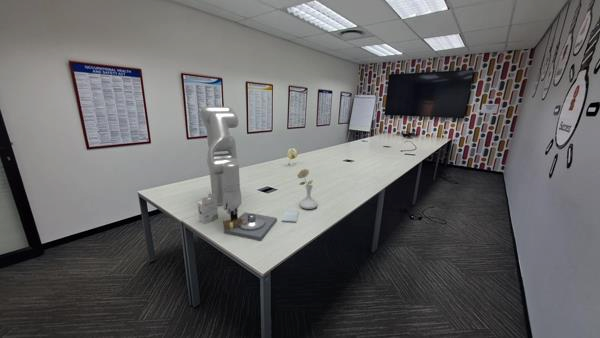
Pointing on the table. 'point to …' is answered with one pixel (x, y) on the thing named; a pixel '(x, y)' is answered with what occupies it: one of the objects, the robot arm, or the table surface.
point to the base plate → (252, 234)
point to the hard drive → (290, 216)
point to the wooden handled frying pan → (246, 222)
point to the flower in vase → (308, 201)
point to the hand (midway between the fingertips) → (234, 220)
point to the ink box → (207, 209)
